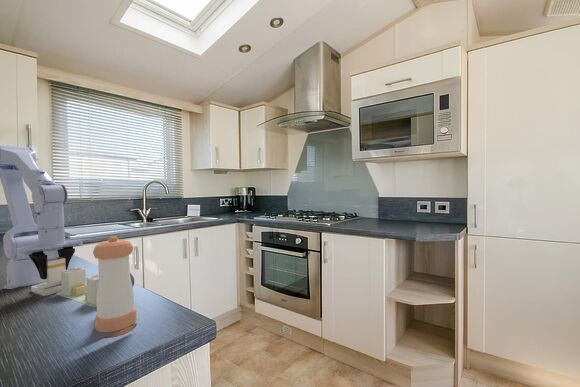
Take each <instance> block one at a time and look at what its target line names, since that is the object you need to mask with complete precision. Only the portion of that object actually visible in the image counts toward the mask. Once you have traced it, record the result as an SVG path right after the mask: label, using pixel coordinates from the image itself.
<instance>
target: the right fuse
mask: <svg viewBox="0 0 580 387" xmlns="http://www.w3.org/2000/svg"><path fill="white" fill-rule="evenodd" d="M98 283H99V274H95V275H92V276H88V277H86V285H87V302H89V303H92V304H95V305H97V303H96V298H97V290H98Z"/></svg>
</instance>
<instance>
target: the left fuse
mask: <svg viewBox="0 0 580 387" xmlns="http://www.w3.org/2000/svg"><path fill="white" fill-rule="evenodd" d="M86 278H87V277H86V268H84V267H79V266H78V267H72V268H67V270H63V271H61V282H62V284H61V285H62V291H61V292H62V293H63V294H66V295H69V296H70V295H72V287H76V286H80V285H83V284H85V285H86Z"/></svg>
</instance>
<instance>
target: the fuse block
mask: <svg viewBox="0 0 580 387" xmlns="http://www.w3.org/2000/svg"><path fill="white" fill-rule="evenodd" d="M55 295H58V296H59V297H63V298H67V299H69V300H72V301H74V302H78V303H80V304H83V305H86V306H88V307H91V308H97V305H95V304H92V303H89V302H87V285H85V284H83V285H80V286H76V287H72V295H70V296H69V295H66V294H63V293H62V291H61V292H57V293H55Z"/></svg>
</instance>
